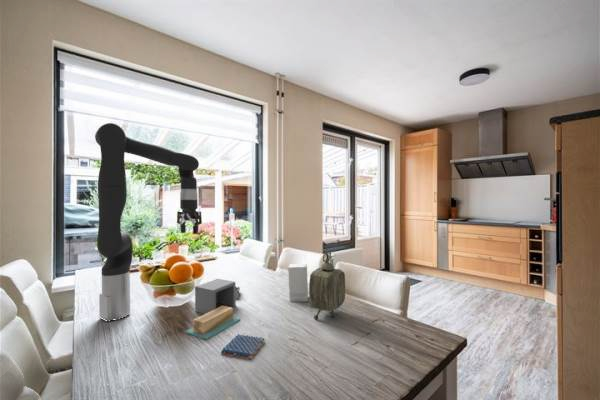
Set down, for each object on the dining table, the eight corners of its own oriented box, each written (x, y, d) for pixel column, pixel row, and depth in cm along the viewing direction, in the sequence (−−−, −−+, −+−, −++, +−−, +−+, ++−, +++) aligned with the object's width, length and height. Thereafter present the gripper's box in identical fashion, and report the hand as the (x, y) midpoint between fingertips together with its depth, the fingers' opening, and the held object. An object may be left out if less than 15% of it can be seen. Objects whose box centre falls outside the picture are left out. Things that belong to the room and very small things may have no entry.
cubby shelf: (213, 316, 105) (213, 290, 105) (195, 311, 110) (195, 286, 110) (235, 305, 116) (235, 281, 116) (218, 301, 121) (217, 278, 121)
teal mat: (206, 339, 87) (206, 337, 87) (186, 332, 92) (186, 330, 92) (240, 320, 101) (240, 318, 101) (220, 315, 106) (220, 313, 106)
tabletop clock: (326, 307, 113) (325, 247, 113) (346, 311, 108) (345, 249, 108) (309, 320, 100) (308, 253, 100) (331, 326, 96) (330, 255, 96)
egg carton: (237, 300, 123) (237, 291, 123) (221, 300, 123) (220, 291, 123) (241, 292, 134) (240, 283, 134) (225, 292, 133) (225, 284, 133)
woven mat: (266, 343, 86) (266, 336, 86) (251, 362, 76) (251, 355, 76) (237, 338, 89) (237, 332, 89) (219, 356, 79) (219, 349, 79)
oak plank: (232, 318, 102) (232, 307, 102) (203, 334, 89) (203, 322, 89) (223, 315, 104) (223, 305, 104) (193, 331, 92) (193, 319, 92)
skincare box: (308, 296, 125) (307, 263, 125) (307, 302, 118) (306, 266, 119) (290, 296, 126) (290, 263, 126) (288, 301, 119) (288, 266, 119)
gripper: (172, 199, 127) (172, 233, 127) (192, 198, 120) (192, 235, 120) (185, 199, 134) (186, 231, 134) (205, 198, 127) (206, 233, 127)
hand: (189, 233), depth 127 cm, fingers open, 8 cm apart
